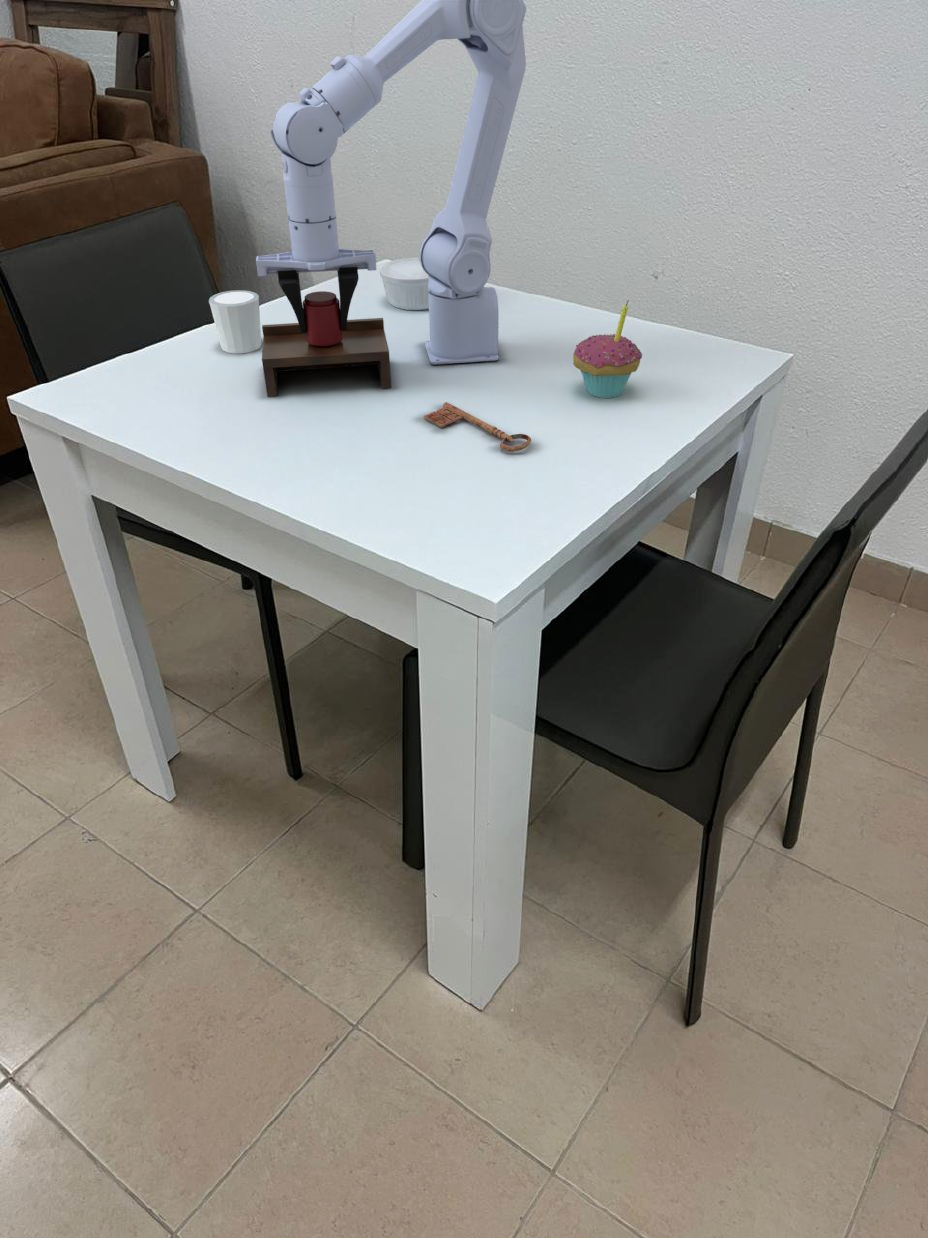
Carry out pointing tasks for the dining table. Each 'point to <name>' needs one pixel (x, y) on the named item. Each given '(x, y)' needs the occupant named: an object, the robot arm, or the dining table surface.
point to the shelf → (324, 350)
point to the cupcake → (607, 361)
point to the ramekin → (406, 284)
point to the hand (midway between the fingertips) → (323, 328)
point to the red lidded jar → (322, 318)
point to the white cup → (237, 320)
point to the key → (453, 414)
